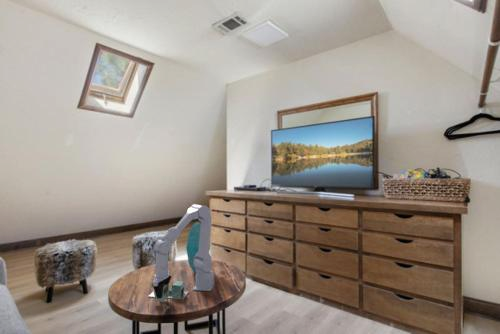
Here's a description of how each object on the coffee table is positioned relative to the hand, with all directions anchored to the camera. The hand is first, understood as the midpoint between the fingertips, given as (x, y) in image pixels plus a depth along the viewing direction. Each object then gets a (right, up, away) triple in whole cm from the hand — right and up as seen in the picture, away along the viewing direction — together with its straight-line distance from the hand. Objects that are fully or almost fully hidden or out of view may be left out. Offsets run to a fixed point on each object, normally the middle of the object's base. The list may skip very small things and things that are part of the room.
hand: (162, 295), depth 122 cm
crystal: (+10, -4, +38) cm, 39 cm away
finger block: (0, -2, 0) cm, 2 cm away
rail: (+1, -4, +7) cm, 8 cm away
